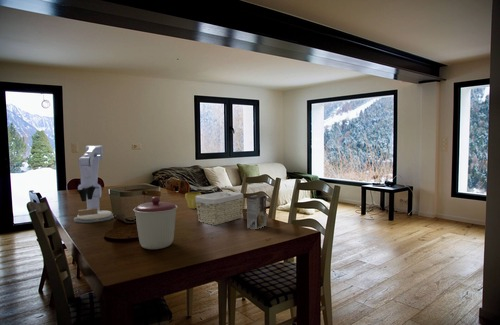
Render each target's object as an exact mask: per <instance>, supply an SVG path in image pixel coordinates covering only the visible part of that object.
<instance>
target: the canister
mask: <svg viewBox="0 0 500 325" xmlns="http://www.w3.org/2000/svg"><path fill="white" fill-rule="evenodd" d="M150 201H151V202H145V203H142V204H140V205H138V206H137V207H135V208H134V209H133V211H134V212H135V216H136V220H135V222H136V228H137V234H138V236H137V237H138V240H139V245H141V247H142V248H143V249H146V250H159V249H160V250H161V249H165V248H167V247H169V246H171V245H172V244H173V241H174V237H175V228H176V215H177V209H178V208H179V207H178V205H176V204H175V203H174V202H169V201H161V199H160V197H159V196H153V197H151V199H150Z"/></svg>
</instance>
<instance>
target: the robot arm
mask: <svg viewBox="0 0 500 325" xmlns="http://www.w3.org/2000/svg"><path fill="white" fill-rule="evenodd" d="M103 158H104V147H103V145H102V144H101V145H86V146H85V152H84V153H83V155H82V156H81V157H79V158H78V166H79V170H80V184H78V186H77V193H78V194H79V198H80V200H81V202H86V209H94V208H97V210H98V211H99V210H100V198H102V195H103V193H102V192H103V190H102V186H101V184H99V183H98V179H99V178H98V177H99V169H100V167H99V166H100V161H102V160H103Z"/></svg>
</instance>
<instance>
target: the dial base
mask: <svg viewBox="0 0 500 325" xmlns="http://www.w3.org/2000/svg"><path fill="white" fill-rule="evenodd" d="M113 214H114V213H112V215H111V216H110V217H107V218H102V219H95V220H80V219H78V217H77V216H75V217H73V222H74V223H76V224H95V223H103V222H108V221H111V220H113V219H115V218H114V216H113Z"/></svg>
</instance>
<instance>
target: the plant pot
mask: <svg viewBox="0 0 500 325" xmlns="http://www.w3.org/2000/svg"><path fill="white" fill-rule="evenodd" d="M197 195H202V193H201V192H186V193H185V194H184V196H185V200H186V204H187V207H188V209H190V210H191V209H193V210H195V208H196V209H197V204H196V199H195V197H196V196H197Z"/></svg>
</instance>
